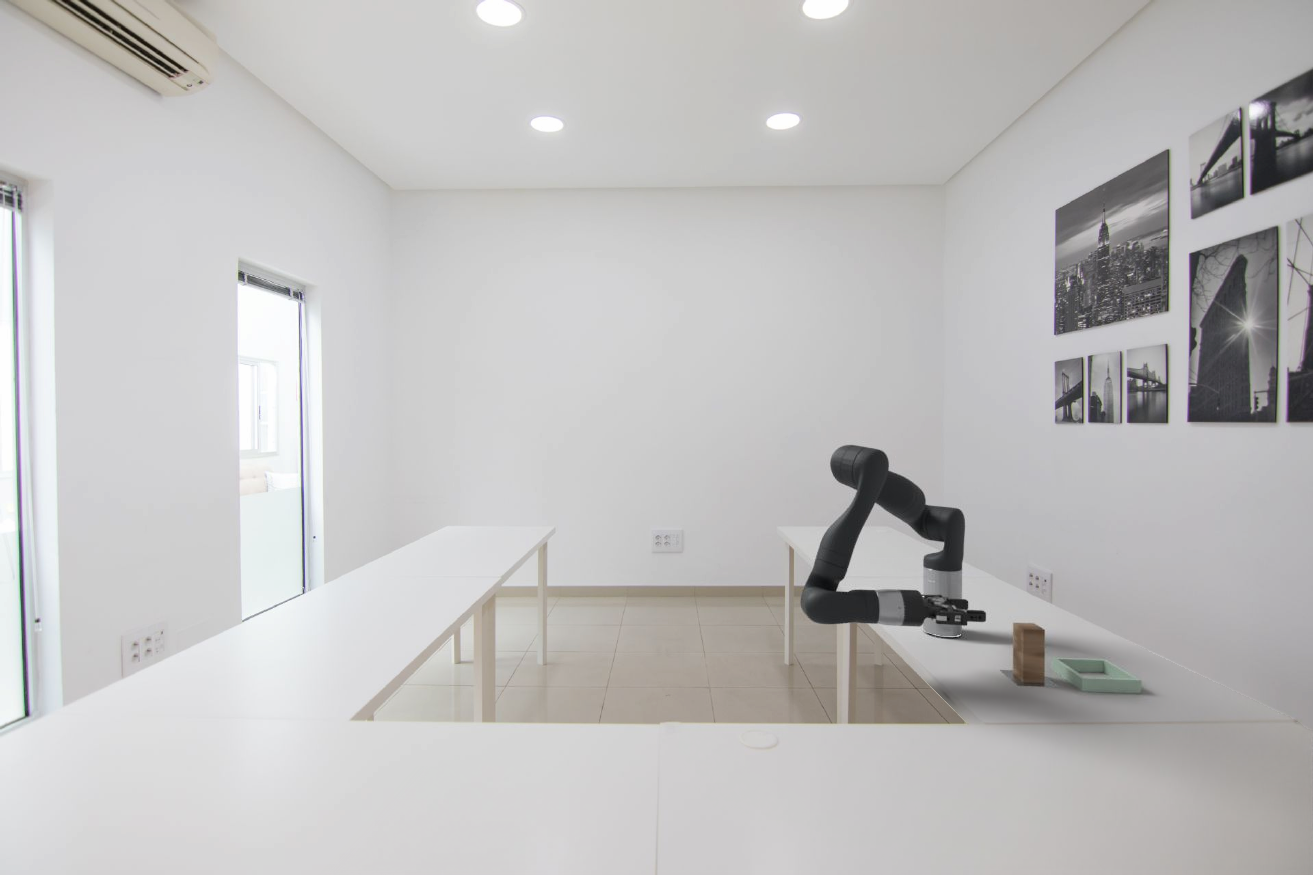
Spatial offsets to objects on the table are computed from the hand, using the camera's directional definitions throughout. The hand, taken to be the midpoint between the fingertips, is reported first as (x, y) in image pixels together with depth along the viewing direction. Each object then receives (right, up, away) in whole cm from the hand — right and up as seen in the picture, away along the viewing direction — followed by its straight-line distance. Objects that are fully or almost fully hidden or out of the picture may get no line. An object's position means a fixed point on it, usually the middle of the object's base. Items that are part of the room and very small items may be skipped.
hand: (976, 610), depth 126 cm
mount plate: (+11, -15, -1) cm, 18 cm away
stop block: (+11, -14, -1) cm, 18 cm away
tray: (+24, -15, -2) cm, 28 cm away
